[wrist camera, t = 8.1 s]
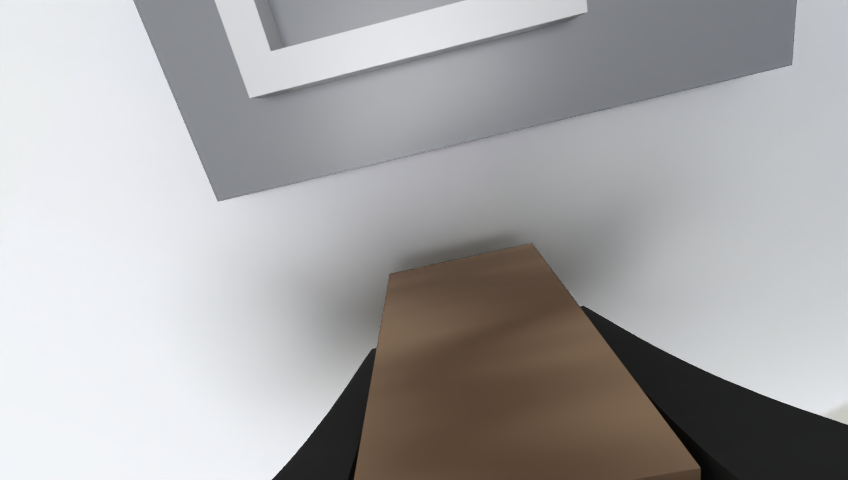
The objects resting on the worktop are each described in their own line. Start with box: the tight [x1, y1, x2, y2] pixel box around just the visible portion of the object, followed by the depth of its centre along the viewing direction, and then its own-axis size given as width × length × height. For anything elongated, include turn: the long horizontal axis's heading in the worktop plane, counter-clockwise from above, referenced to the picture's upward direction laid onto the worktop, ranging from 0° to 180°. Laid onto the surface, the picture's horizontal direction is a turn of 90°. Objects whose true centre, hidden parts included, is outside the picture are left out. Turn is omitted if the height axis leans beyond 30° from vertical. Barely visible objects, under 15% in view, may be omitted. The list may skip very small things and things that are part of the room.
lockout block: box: [354, 243, 701, 480], centre depth 8 cm, size 4×4×7 cm
